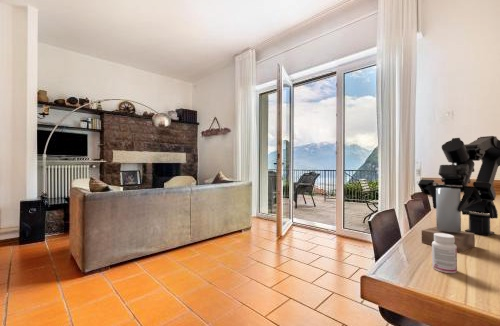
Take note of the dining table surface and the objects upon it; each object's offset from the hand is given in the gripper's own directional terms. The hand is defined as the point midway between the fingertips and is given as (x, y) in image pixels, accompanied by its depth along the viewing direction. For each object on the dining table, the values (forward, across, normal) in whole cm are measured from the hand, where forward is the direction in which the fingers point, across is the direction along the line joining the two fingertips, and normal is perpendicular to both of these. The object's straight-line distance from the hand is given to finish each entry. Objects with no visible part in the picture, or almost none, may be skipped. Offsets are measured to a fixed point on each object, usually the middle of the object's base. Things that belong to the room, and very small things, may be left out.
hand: (446, 209), depth 76 cm
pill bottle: (+23, +7, -6) cm, 25 cm away
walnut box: (+7, 0, +9) cm, 12 cm away
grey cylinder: (+4, 0, +6) cm, 7 cm away
